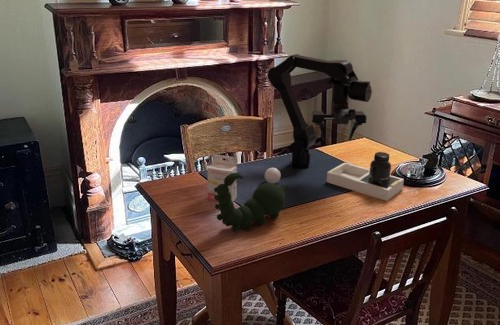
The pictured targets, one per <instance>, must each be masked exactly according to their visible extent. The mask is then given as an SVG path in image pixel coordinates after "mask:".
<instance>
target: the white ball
mask: <svg viewBox="0 0 500 325" xmlns="http://www.w3.org/2000/svg"><path fill="white" fill-rule="evenodd" d="M281 175H282V174H281V171H280V170H279V169H278V168H277V167H269V168H268V169H266V171H265V172H264V179H265V181H266V183H273V184H277V183H278V182H279V181H280V180H281Z"/></svg>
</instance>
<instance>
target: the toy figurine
mask: <svg viewBox="0 0 500 325" xmlns="http://www.w3.org/2000/svg"><path fill="white" fill-rule="evenodd" d="M239 179H240V180H242V179H244V177H243V175H242V174H241V173H239V172H237V173H231V174H229V175H228V176H226V177H225V179H224V184H220V185H218V186H217V187H215V188H214V191H215V192H217V194H218V195H215V196H214V198H215V200H217V201H218V203H216V204H215V205H214V207H215V209H216V210H219V211H220V213H218V214H217V215H216V219H217V221H221V222H222V224H223V225H225V226H226V227H230V226H231V227H232V231H234V232H235V233H236V232H238V231H240V228H244V229H245V230H246V231H247V232H248V231H249V232H250V231H253V224H254V223H257V224H258V225H259V226H264V225H266V222H267V221H266V218H265V217H266V216H267V217H269V218H271V219H276V218H278V217H279V215H280V212H281V211H282V210H284V209H285V203H286V197H285V194H286V192H287V191H288V188H289V187H290V184H283V185H278V184H277V183H269V182H266V183H262V184H260V185H259V186H257V187H256V188H255V190H254V191H253V194H252V198H250V199H248V200H246V202H245V203H244V204H243V205H241V206H239V207H237V208H236V207H235V206H234V205H235V204H234V202H233V201H232V200H231V194H230V193H229V188H228V186H230V185H232V184H233V183H234V181H235V180H239Z"/></svg>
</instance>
